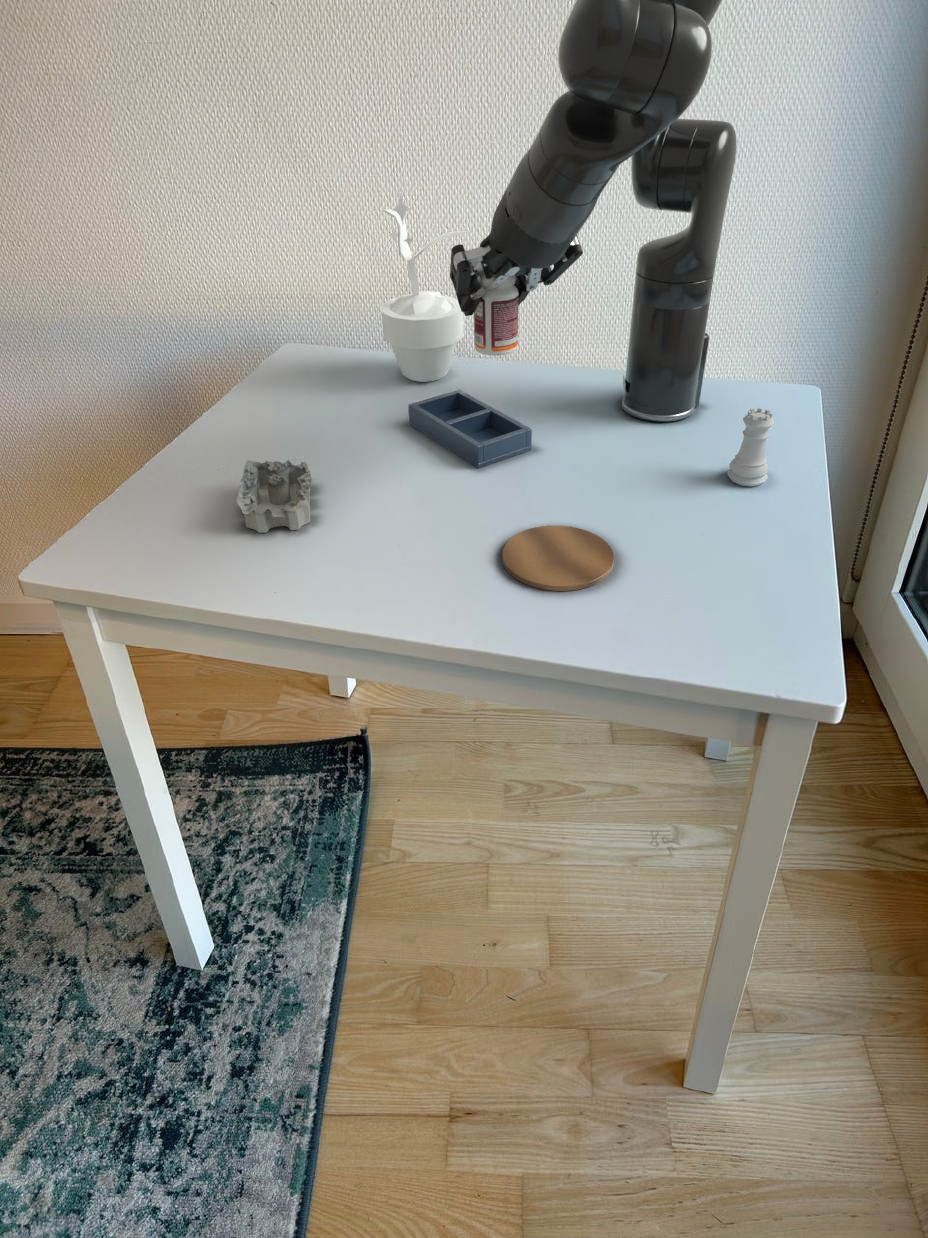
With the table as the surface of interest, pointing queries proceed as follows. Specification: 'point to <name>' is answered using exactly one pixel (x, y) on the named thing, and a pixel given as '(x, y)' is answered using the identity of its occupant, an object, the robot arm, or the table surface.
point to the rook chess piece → (752, 450)
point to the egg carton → (275, 495)
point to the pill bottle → (497, 320)
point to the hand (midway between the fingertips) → (488, 303)
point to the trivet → (558, 558)
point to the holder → (470, 428)
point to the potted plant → (421, 316)
